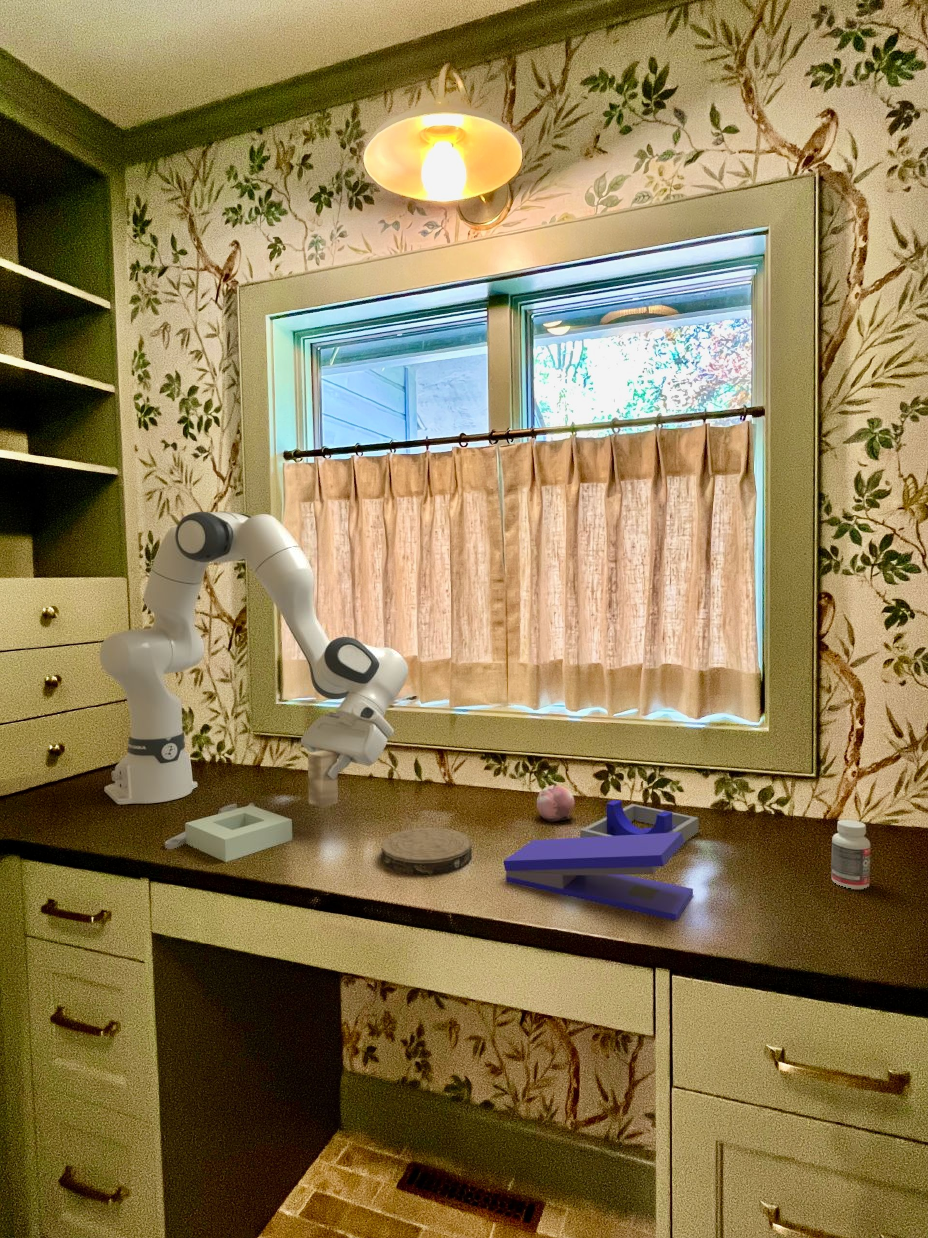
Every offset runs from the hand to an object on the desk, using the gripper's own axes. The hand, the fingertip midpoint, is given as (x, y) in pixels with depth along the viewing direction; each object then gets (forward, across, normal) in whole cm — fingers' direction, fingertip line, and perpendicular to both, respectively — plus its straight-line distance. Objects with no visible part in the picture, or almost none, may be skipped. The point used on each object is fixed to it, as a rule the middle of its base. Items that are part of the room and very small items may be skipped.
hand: (320, 774), depth 141 cm
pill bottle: (-20, +85, +35) cm, 94 cm away
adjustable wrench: (+17, -21, 0) cm, 27 cm away
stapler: (0, +55, +16) cm, 57 cm away
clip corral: (-17, +50, +33) cm, 63 cm away
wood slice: (+6, +25, +11) cm, 28 cm away
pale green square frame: (+18, -8, -1) cm, 19 cm away
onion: (-17, +31, +33) cm, 49 cm away
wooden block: (+4, 0, +5) cm, 6 cm away
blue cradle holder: (-17, +50, +33) cm, 63 cm away
